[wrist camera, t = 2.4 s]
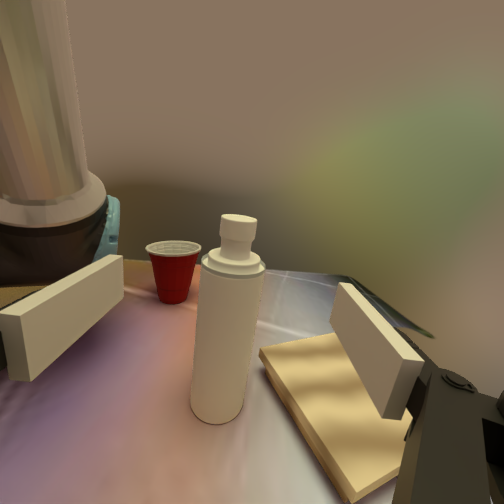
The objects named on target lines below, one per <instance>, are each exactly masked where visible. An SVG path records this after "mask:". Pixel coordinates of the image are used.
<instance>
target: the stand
mask: <svg viewBox="0 0 504 504" xmlns="http://www.w3.org/2000/svg"><path fill="white" fill-rule="evenodd" d="M259 358H260V359H261V361H262V362H263V364H264V366H265V367H266V371H265V374H266V376H267V377H268V379H269V381H270V382H271V384H272V386H273V387H274V389H275V390H276V392H277V394H278V395H279V397H280V399H281V400H282V402H283V404H284V405H285V407H286V408H287V410H288V412H289V413H290V415H291V417H292V418H293V420H294V422H295V423H296V425H297V427H298V428H299V430H300V431H301V433H302V435H303V436H304V438H305V440H306V441H307V443H308V445H309V446H310V448H311V449H312V451H313V453H314V454H315V456H316V458H317V459H318V461H319V463H320V464H321V466H322V467H323V469H324V471H325V472H326V474H327V476H328V477H329V479H330V481H331V482H332V484H333V486H334V487H335V489H336V490H337V492H338V494H339V495H340V497H341V499H342V500H343V502H344V503H346V502H347V501H350V502H351V504H353V503H355V502H356V501H358V500H359V499H361V498H363V497H364V496H366V495H367V494H369V493H370V492H372V491H373V490H375V489H377V488H378V487H380V486H381V485H383V484H384V483H386V482H388V481H389V480H391V479H392V478H394V477H395V476H397V475H398V474H399V469H400V465H401V461H402V456H403V452H404V447H405V443H406V442H405V441H404V437H405V435H406V433H407V430H408V428H409V425H410V423H411V421H412V418H413V417H412V416H411V414H410V413H409V411H408V410H407V408H406V409H405V412H404V414H403V417H402V419H401V421H400V420H391V419H382V418H381V417H380V415H379V413H378V411H377V409H376V407H375V405H374V404H373V402H372V400H371V398H370V396H369V394H368V392H367V391H366V389H365V387H364V385H363V383H362V381H361V380H360V378H359V376H358V374H357V372H356V370H355V368H354V367H353V365H352V363H351V361H350V359H349V357H348V355H347V354H346V352H345V350H344V348H343V346H342V344H341V342H340V341H339V339H338V337H337V335H336V333H330V334H325V335H320V336H315V337H310V338H306V339H301V340H296V341H291V342H286V343H281V344H276V345H271V346H266V347H261V348H260V351H259Z"/></svg>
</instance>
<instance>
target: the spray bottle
mask: <svg viewBox="0 0 504 504" xmlns="http://www.w3.org/2000/svg"><path fill="white" fill-rule="evenodd" d="M256 226H257V220H256V219H255V218H252V217H248V216H243V215H235V214H225V215H222V216H221V225H220V236H221V237H222V239H221V248H216V249H213V250H211V251H210V252H209V254H206V255H204V256H203V257H202V261H201V273H200V284H199V296H198V308H197V320H196V333H195V345H194V358H193V370H192V383H191V395H190V404H191V408H192V410H193V412H194V414H195V415H196V416H197V417H198V418H199V419H200V420H202V421H204V422H206V423H209V424H223V423H226V422H229V421H231V420H232V419H234V418H235V417H236V416H237V415H238V413H239V412H240V410H241V408H242V406H243V401H244V395H245V389H246V383H247V377H248V371H249V365H250V359H251V353H252V347H253V341H254V335H255V329H256V323H257V317H258V310H259V304H260V298H261V292H262V286H263V279H264V273H265V264H264V262H263V261H261V260H260V257H259V256H258V255H257V254H255V253H253V252H251V251H250V250H251V243H252V241H253V240H254V238H255V233H256ZM205 258H206V259H205Z"/></svg>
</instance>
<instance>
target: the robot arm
mask: <svg viewBox="0 0 504 504" xmlns="http://www.w3.org/2000/svg"><path fill="white" fill-rule="evenodd" d="M119 223H120V203H119V200H118V199H117V198H115V197H111V196H110V195H106V191H105V188H104V185H103V183H102V182H101V181H100V179H99V178H98V177H96V176H95V175H94V174H92V173H91V172H89V171H88V168H87V161H86V153H85V146H84V138H83V131H82V123H81V116H80V108H79V102H78V93H77V86H76V79H75V71H74V64H73V56H72V49H71V41H70V34H69V27H68V19H67V12H66V4H65V0H0V288H4V287H25V286H45V285H50V286H48V287H46V288H43V289H40V290H37V291H34V292H31V293H29V294H28V295H26V296H24V297H22V298H21V299H18V300H16V301H14V302H12V304H11V303H10V304H8V305H6V306H4V307H2V308H0V371H1V370H2V369H4V368H5V367H6V366H7V371H8V376H9V380H16V381H25V382H31V381H32V380H34V379H35V378H36V377H37V376H38V375H39V374H40V373H41V372H42V371H43V370H45V369H46V368H47V367H48V366H49V365H50V364H51V363H52V362H53V361H54V360H56V359H57V358H58V357H59V356H60V355H61V354H62V353H63V352H64V351H65V350H67V349H68V348H69V347H70V346H71V345H72V344H73V343H74V342H75V341H76V340H78V339H79V338H80V337H81V336H82V335H83V334H84V333H85V332H86V331H87V330H89V329H90V328H91V327H92V326H93V325H94V324H95V323H96V322H97V321H98V320H100V319H101V318H102V317H103V316H104V315H105V314H106V313H107V312H108V311H109V310H111V309H112V308H113V307H114V306H115V305H116V304H117V303H118V302H119V301H120V300H122V299H123V298H124V287H123V256H120V255H117V245H118V240H117V239H118V233H119ZM329 322H330V324H331V326H332V328H333V330H334V331H335V333H336V335H337V337H338V339H339V341H340V342H341V344H342V346H343V348H344V350H345V352H346V354H347V355H348V357H349V359H350V361H351V363H352V365H353V367H354V368H355V370H356V372H357V374H358V376H359V378H360V380H361V381H362V383H363V385H364V387H365V389H366V391H367V392H368V394H369V396H370V398H371V400H372V402H373V404H374V405H375V407H376V409H377V411H378V413H379V415H380V417H381V418H382V419H391V420H400V421H401V419H402V417H403V414H404V412H405V409H406V408H407V410H408V411H409V413H410V414H411V416H412V417H413V418H412V421H411V423H410V425H409V428H408V430H407V433H406V435H405V437H404V441H405V442H406V443H405V447H404V452H403V456H402V461H401V465H400V469H399V474H398V478H397V483H396V487H395V491H394V496H393V500H392V504H491V501H490V496H491V499H492V501H493V504H504V391H503V392H502V393H501V395H500V397H499V399H497V398H494V397H491V396H488V395H484V394H481V393H478V391H477V389H476V388H475V387H474V386H473V384H472V383H471V382H469V381H468V380H466V379H465V378H464V377H462V376H460V375H458V374H456V373H455V372H452V371H449V370H446V369H441V368H438V366H437V365H436V364H434V362H433V361H432V360H431V359H429V357H428V356H427V355H426V354H425V353H424V352H423V351H422V350H420V349H419V347H418V346H417V345H416V344H415V343H413V341H412V340H411V339H410V338H409V337H408V336H407V335H406V334H404V333H403V332H401V331H400V330H398V329H397V328H395V327H392V326H391V325H390V324H389V323H388V322H387V321H386V320H385V319H384V318H383V317H382V316H381V315H380V314H379V313H378V312H377V311H376V309H375V308H374V307H373V306H372V305H371V304H370V303H369V302H368V301H367V300H366V299H365V298H364V297H363V296H362V295H361V294H360V293H359V292H358V290H357V289H356V288H355V287H354V286H353V285H352V284H348V283H340V282H339V284H338V288H337V292H336V296H335V300H334V304H333V308H332V312H331V316H330V320H329Z"/></svg>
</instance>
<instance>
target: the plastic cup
mask: <svg viewBox="0 0 504 504" xmlns="http://www.w3.org/2000/svg"><path fill="white" fill-rule="evenodd" d="M146 250H147V252H148V253H149V256H150V258H151V262H152V266H153V272H154V277H155V283H156V286H157V292H158V296H159V299H160V301H162V302H163V303H167V304H178V303H181V302H183V301H185V300H186V297H187V295H188V291H189V287H190V284H191V280H192V276H193V272H194V267H195V263H196V260H197V257H198V254H199V251H200V250H201V246H200V245H199V244H197V243H193V242H187V241H163V242H157V243H153V244H150V245H148V246H147V247H146Z"/></svg>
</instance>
